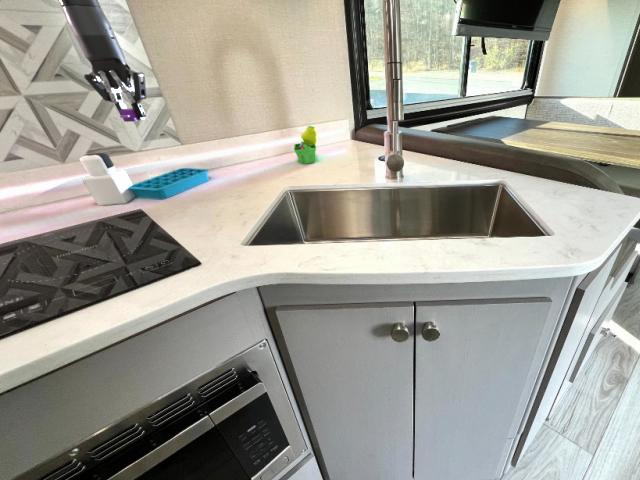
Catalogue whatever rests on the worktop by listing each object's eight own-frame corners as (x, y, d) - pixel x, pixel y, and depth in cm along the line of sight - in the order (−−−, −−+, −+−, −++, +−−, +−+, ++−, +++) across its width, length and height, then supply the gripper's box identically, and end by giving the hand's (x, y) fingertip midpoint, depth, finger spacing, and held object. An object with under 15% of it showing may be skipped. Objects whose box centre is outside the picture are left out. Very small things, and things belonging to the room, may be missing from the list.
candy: (121, 122, 80) (115, 111, 78) (138, 118, 85) (133, 107, 84) (132, 121, 80) (127, 110, 78) (149, 118, 85) (144, 107, 84)
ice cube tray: (214, 179, 102) (211, 169, 100) (162, 201, 86) (157, 190, 85) (185, 177, 104) (181, 167, 102) (130, 198, 89) (124, 187, 87)
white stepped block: (112, 197, 90) (85, 152, 83) (139, 195, 91) (115, 150, 84) (97, 206, 85) (67, 158, 77) (126, 203, 86) (99, 156, 78)
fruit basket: (297, 158, 121) (289, 125, 114) (320, 156, 122) (314, 123, 115) (297, 165, 112) (289, 130, 105) (322, 163, 114) (316, 128, 107)
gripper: (50, 34, 69) (98, 123, 80) (113, 31, 69) (153, 121, 80) (77, 36, 75) (119, 118, 86) (135, 34, 75) (170, 116, 86)
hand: (135, 119), depth 83 cm, fingers closed on candy, 3 cm apart
